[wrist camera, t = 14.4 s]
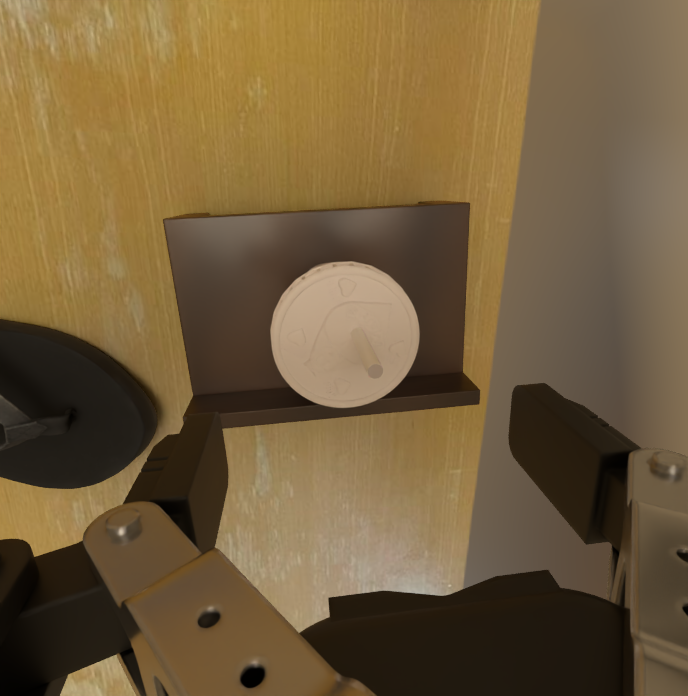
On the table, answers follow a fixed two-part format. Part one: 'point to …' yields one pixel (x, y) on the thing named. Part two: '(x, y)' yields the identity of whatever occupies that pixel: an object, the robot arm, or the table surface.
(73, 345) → the sandal
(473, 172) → the table surface
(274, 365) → the shelf
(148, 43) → the table surface
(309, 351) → the smoothie
